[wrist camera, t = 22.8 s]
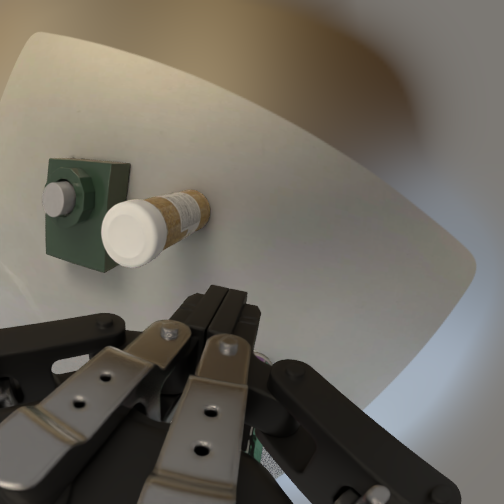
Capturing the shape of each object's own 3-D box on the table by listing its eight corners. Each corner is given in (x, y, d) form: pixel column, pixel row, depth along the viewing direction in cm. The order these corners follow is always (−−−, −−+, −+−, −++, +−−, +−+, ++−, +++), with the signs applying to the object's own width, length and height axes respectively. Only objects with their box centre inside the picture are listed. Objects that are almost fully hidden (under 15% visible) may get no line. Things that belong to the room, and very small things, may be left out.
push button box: (69, 157, 32) (37, 158, 26) (130, 163, 31) (100, 163, 25) (64, 246, 35) (35, 258, 29) (122, 263, 34) (94, 279, 28)
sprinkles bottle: (177, 234, 32) (109, 274, 19) (167, 194, 31) (91, 211, 18) (216, 226, 31) (163, 264, 18) (206, 184, 30) (145, 194, 17)
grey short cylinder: (55, 179, 27) (42, 181, 25) (77, 182, 26) (64, 184, 24) (53, 211, 28) (41, 214, 26) (75, 216, 27) (63, 219, 25)
